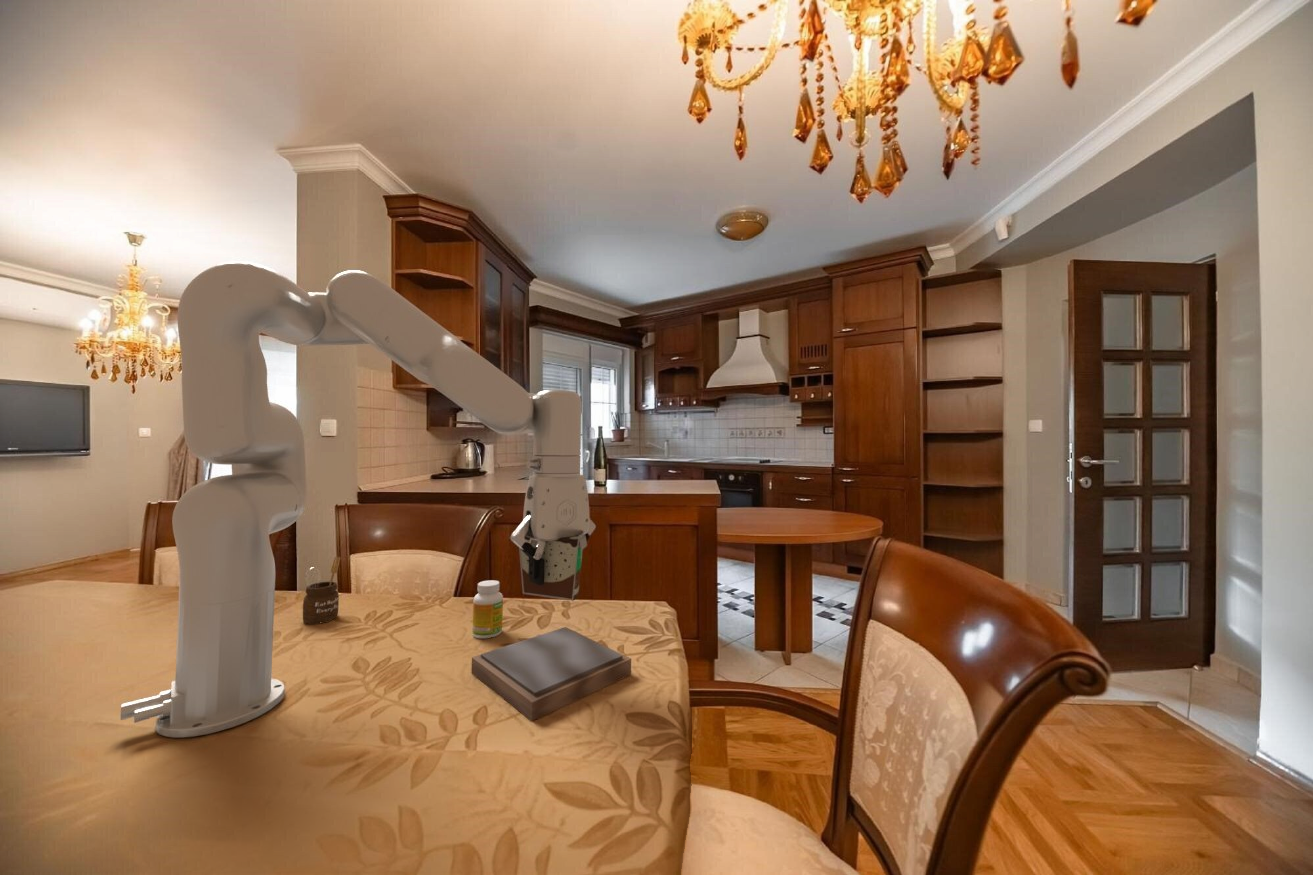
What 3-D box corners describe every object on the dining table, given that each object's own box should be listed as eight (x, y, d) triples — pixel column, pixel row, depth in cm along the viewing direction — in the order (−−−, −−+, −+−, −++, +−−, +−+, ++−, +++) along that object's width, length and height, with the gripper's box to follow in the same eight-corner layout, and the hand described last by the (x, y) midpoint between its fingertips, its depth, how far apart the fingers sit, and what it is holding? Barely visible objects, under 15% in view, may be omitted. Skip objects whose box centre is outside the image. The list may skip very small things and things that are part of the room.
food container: (601, 590, 75) (601, 528, 75) (581, 601, 69) (581, 535, 69) (538, 582, 79) (538, 524, 80) (515, 592, 74) (515, 530, 74)
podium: (531, 721, 60) (532, 698, 61) (471, 673, 73) (471, 654, 73) (630, 674, 73) (631, 655, 74) (565, 640, 86) (565, 624, 86)
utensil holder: (294, 622, 92) (297, 562, 92) (325, 612, 98) (327, 555, 98) (316, 626, 90) (318, 565, 90) (346, 615, 96) (348, 558, 96)
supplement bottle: (495, 639, 86) (497, 587, 86) (467, 638, 86) (469, 586, 86) (505, 628, 91) (507, 579, 91) (479, 627, 91) (480, 578, 91)
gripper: (520, 469, 65) (518, 596, 65) (612, 466, 78) (611, 573, 77) (495, 467, 70) (493, 585, 70) (585, 465, 83) (583, 564, 82)
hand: (555, 577), depth 74 cm, fingers closed on food container, 6 cm apart
